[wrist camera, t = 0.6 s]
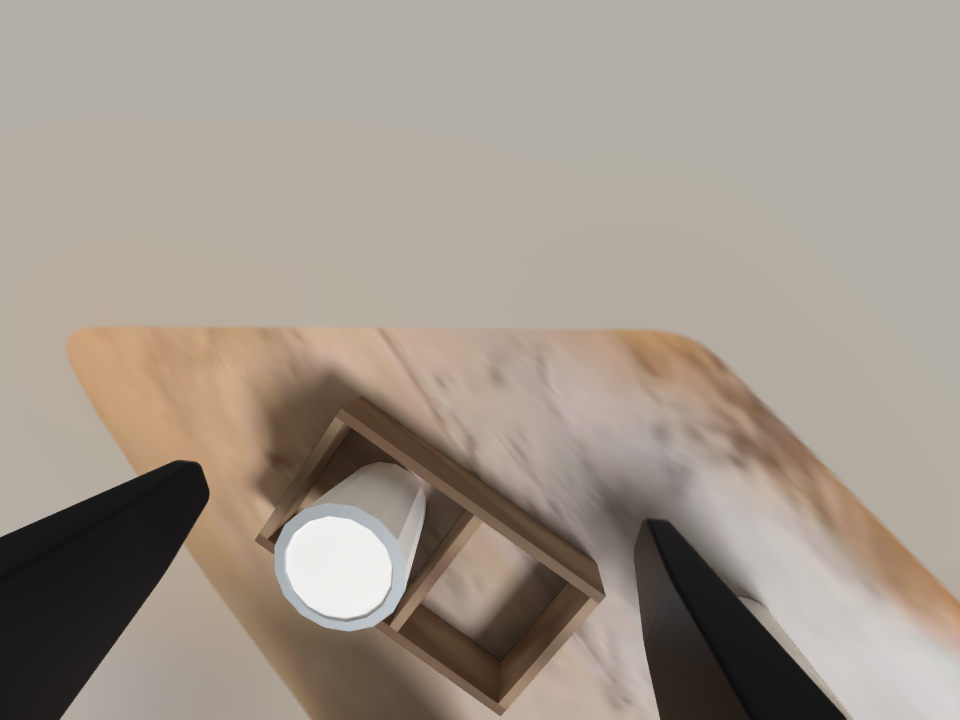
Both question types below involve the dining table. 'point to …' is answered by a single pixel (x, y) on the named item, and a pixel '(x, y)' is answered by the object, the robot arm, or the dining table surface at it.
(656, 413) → the dining table surface
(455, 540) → the walnut caddy
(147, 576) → the robot arm
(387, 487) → the white cup
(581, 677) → the dining table surface
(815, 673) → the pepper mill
